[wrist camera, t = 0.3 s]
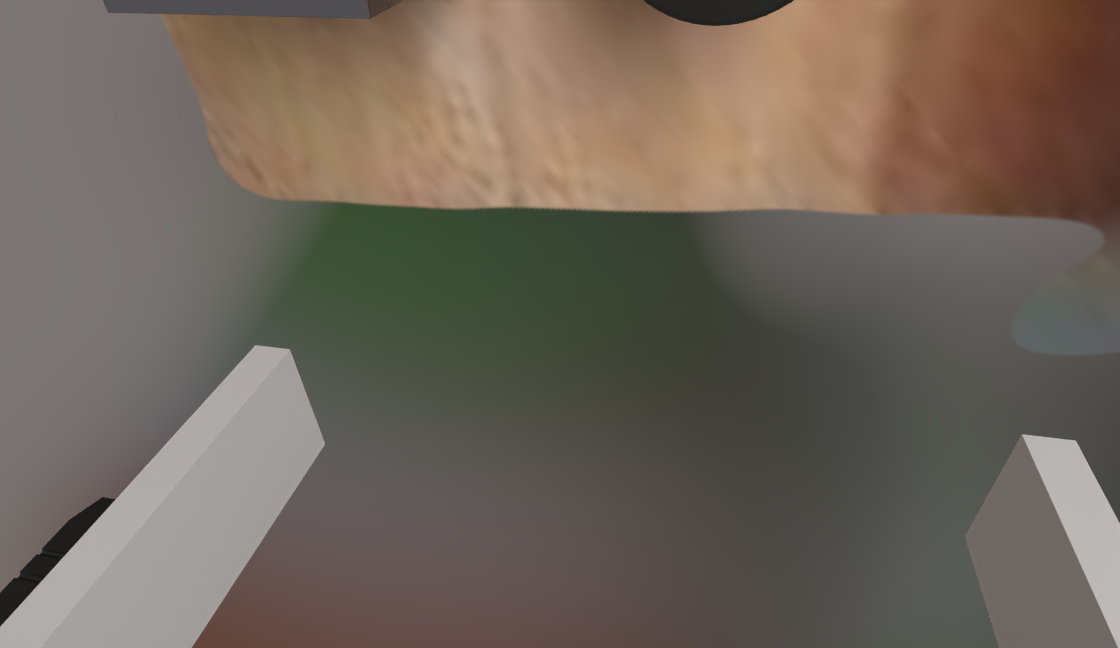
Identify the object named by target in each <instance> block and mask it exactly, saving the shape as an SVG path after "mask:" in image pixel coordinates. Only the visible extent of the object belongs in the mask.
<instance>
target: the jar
mask: <svg viewBox="0 0 1120 648" xmlns="http://www.w3.org/2000/svg"><path fill="white" fill-rule="evenodd" d="M644 1H645V2H646V3H647V4H649V5H650V6H652V7H654V8H655V9H657V10H658V11H660V12H662V13H664V14H666V15H668V16H670V17H673V18H676V19H678V20H681V21H685V22H689V23H693V24H699V25H711V26H720V25H732V24H738V23H743V22H747V21H751V20H754V19H757V18H760V17H763V16H766V15H768V14H770V13H772V12H774V11H777V10H779V9H780V8H782V7H784V6H785V5H787V4H789V3H791V2H792V1H794V0H644Z"/></svg>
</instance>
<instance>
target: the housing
mask: <svg viewBox="0 0 1120 648" xmlns="http://www.w3.org/2000/svg"><path fill="white" fill-rule="evenodd" d="M103 1H104V4H105V6H106V9H107V11H108V12H109V13H153V14H156V13H157V14H196V15H240V16H283V17H327V18H372V17H374V16H376V15H377V14H379V13H381V12H383V11H385V10H386V9H388V8H390V7H392V6H394V5H395V4H397V3H399V2H401V1H403V0H103Z"/></svg>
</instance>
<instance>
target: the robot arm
mask: <svg viewBox="0 0 1120 648" xmlns="http://www.w3.org/2000/svg"><path fill="white" fill-rule="evenodd" d="M324 445H325V443H324V440H323V437H322V434H321V432H320V429H319V427H318V424H317V421H316V418H315V416H314V413H313V410H312V408H311V405H310V403H309V400H308V397H307V394H306V392H305V389H304V386H303V384H302V381H301V379H300V376H299V373H298V370H297V368H296V365H295V363H294V360H293V357H292V355H291V352H290V349H282V348H274V347H264V346H256V345H255V347H254V348H253V349H252V350H251V351H250V352H249V353H248V354H247V355H246V356H245V357H244V359H243V360H242V361H241V362H240V363H239V364H238V365H237V366H236V367H235V368H234V370H233V371H232V372H231V373H230V374H229V375H228V376H227V377H226V379H224V381H223V382H222V383H221V384H220V385H219V386H218V387H217V388H216V390H215V391H214V392H213V393H212V394H211V395H210V396H209V397H208V399H206V401H205V402H204V403H203V404H202V405H201V406H200V407H199V408H198V409H197V410H196V412H195V413H194V414H193V415H192V416H191V417H190V418H189V419H188V420H187V421H186V423H185V424H184V425H183V426H182V427H181V428H180V429H179V430H178V431H177V432H176V434H175V435H174V436H173V437H172V438H171V439H170V440H169V441H168V442H167V443H166V445H165V446H164V447H163V448H162V449H161V450H160V451H159V452H158V453H157V455H156V456H155V457H154V458H153V459H152V460H151V461H150V462H149V463H148V465H147V466H146V467H145V468H144V469H143V470H142V471H141V472H140V473H139V474H138V475H137V477H136V478H135V479H134V480H133V481H132V482H131V483H130V484H129V486H127V488H126V489H125V490H124V491H123V492H122V493H121V494H120V495H119V497H118V498H117V499H110V498H104V497H102V498H101V499H99V500H98V501H96V502H95V503H93V504H92V505H90V506H89V507H87V508H86V509H85V510H83V511H82V512H80V513H79V514H77V515H76V516H74V517H73V518H71V519H70V520H69V521H68V522H67V523H66V524H65V525H64V526H63V527H62V528H61V529H60V530H59V531H58V532H57V533H56V535H55V536H54V537H53V538H52V539H51V540H50V541H49V542H48V543H47V544H46V545H45V546H44V547H43V548H42V553H41V554H40V555H38V554H37V555H36V556H35V557H34V558H33V559H32V560H31V561H30V562H29V563H28V564H27V565H26V566H25V567H24V568H23V569H22V570H21V571H20V576H19V577H18V578H14V579H13V580H12V581H11V582H10V583H9V584H8V585H7V586H6V587H5V588H4V590H2V592H1V593H0V648H192V646H193V645H194V643H195V642H196V640H197V639H198V637H199V636H200V634H201V632H202V631H203V629H204V628H205V626H206V625H207V623H208V622H209V620H210V619H211V617H212V616H213V614H214V613H215V611H216V610H217V608H218V607H219V605H220V604H221V602H222V600H223V599H224V597H225V596H226V594H227V593H228V591H229V590H230V588H231V587H232V585H233V584H234V582H235V581H236V579H237V578H238V576H239V575H240V573H241V571H242V570H243V568H244V567H245V565H246V564H247V562H248V561H249V559H250V557H251V556H252V555H253V553H254V551H255V550H256V549H257V547H258V545H259V544H260V543H261V541H262V539H263V538H264V536H265V535H266V533H267V532H268V530H269V529H270V527H271V526H272V524H273V523H274V521H275V520H276V518H277V516H278V515H279V514H280V512H281V510H282V509H283V507H284V506H285V504H286V503H287V501H288V500H289V498H290V497H291V495H292V494H293V492H294V491H295V489H296V488H297V486H298V484H299V483H300V482H301V480H302V478H303V477H304V475H305V474H306V472H307V471H308V469H309V468H310V466H311V465H312V463H313V462H314V460H315V459H316V457H317V456H318V454H319V453H320V451H321V449H322V448H323V446H324ZM965 538H966V541H967V545H968V548H969V551H970V554H971V558H972V561H973V564H974V567H975V571H976V574H977V577H978V580H979V584H980V587H981V590H982V593H983V596H984V599H985V603H986V606H987V609H988V612H989V616H990V619H991V622H992V625H993V629H994V632H995V635H996V639H997V642H998V645H999V648H1120V523H1119V522H1118V520H1117V518H1116V516H1115V514H1114V513H1113V510H1112V508H1111V506H1110V505H1109V503H1108V501H1107V499H1106V497H1105V495H1104V493H1103V491H1102V490H1101V488H1100V486H1099V484H1098V482H1097V480H1096V478H1095V477H1094V474H1093V473H1092V471H1091V469H1090V467H1089V465H1088V463H1087V461H1086V459H1085V458H1084V456H1083V454H1082V452H1081V450H1080V448H1079V446H1078V444H1077V443H1076V441H1073V440H1065V439H1056V438H1048V437H1039V436H1030V435H1021V437H1020V439H1019V441H1018V443H1017V444H1016V446H1015V448H1014V450H1013V452H1012V453H1011V455H1010V457H1009V459H1008V461H1007V462H1006V464H1005V466H1004V468H1003V470H1002V471H1001V473H1000V475H999V477H998V479H997V480H996V482H995V484H994V486H993V488H992V490H991V491H990V493H989V495H988V497H987V498H986V500H985V502H984V504H983V506H982V508H981V509H980V511H979V513H978V515H977V516H976V518H975V520H974V522H973V524H972V525H971V527H970V529H969V531H968V533H967V534H966V536H965Z"/></svg>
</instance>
